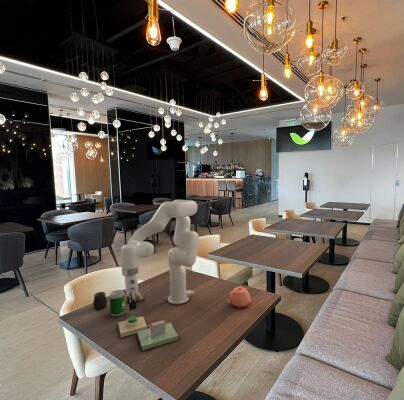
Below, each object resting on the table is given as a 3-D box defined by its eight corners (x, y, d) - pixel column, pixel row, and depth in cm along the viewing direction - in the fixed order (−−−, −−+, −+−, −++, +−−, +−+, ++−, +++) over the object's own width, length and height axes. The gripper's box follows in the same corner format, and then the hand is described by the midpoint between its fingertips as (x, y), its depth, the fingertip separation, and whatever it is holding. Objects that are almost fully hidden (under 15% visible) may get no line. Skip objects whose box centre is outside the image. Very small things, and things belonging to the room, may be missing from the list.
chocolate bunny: (131, 297, 162) (131, 282, 161) (143, 298, 160) (143, 282, 159) (127, 302, 156) (126, 285, 155) (139, 303, 155) (138, 286, 154)
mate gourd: (107, 303, 155) (106, 286, 154) (107, 309, 148) (106, 292, 147) (94, 305, 153) (93, 288, 152) (92, 311, 146) (91, 294, 145)
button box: (143, 320, 137) (143, 312, 137) (147, 330, 128) (147, 322, 128) (118, 326, 132) (118, 318, 131) (120, 337, 123) (120, 329, 122)
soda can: (120, 318, 139) (119, 296, 138) (107, 316, 141) (106, 295, 139) (128, 310, 146) (127, 290, 145) (115, 309, 148) (114, 288, 147)
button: (135, 318, 132) (135, 315, 132) (136, 322, 129) (136, 318, 129) (128, 320, 130) (127, 317, 130) (129, 324, 127) (128, 320, 127)
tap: (164, 330, 125) (163, 319, 124) (165, 332, 123) (165, 321, 123) (149, 334, 122) (148, 323, 121) (150, 336, 120) (149, 326, 119)
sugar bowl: (254, 306, 151) (254, 289, 150) (233, 312, 144) (233, 294, 143) (243, 297, 162) (243, 281, 160) (223, 302, 155) (223, 285, 154)
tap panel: (170, 326, 132) (170, 322, 131) (178, 339, 121) (178, 335, 121) (137, 335, 124) (137, 331, 124) (142, 350, 114) (141, 346, 113)
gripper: (141, 275, 121) (143, 312, 123) (135, 263, 136) (136, 297, 138) (124, 278, 118) (126, 316, 119) (119, 266, 133) (121, 300, 135)
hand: (131, 305), depth 129 cm, fingers open, 6 cm apart
